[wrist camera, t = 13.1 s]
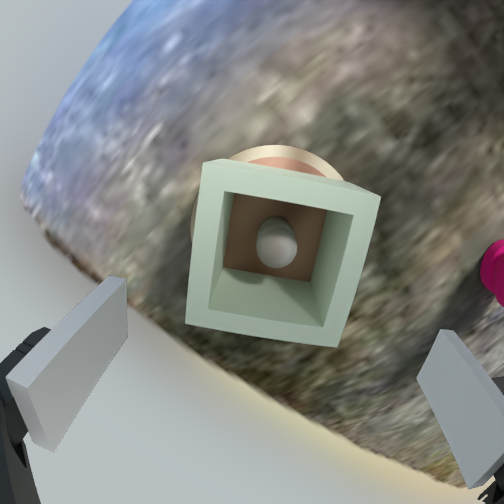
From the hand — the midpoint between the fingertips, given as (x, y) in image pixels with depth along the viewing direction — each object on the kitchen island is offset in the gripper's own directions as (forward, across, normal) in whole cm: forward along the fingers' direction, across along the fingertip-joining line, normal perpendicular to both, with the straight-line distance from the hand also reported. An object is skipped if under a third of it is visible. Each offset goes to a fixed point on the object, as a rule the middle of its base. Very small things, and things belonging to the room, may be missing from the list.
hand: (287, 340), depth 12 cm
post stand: (+18, 0, 0) cm, 18 cm away
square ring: (+17, 0, 0) cm, 17 cm away
